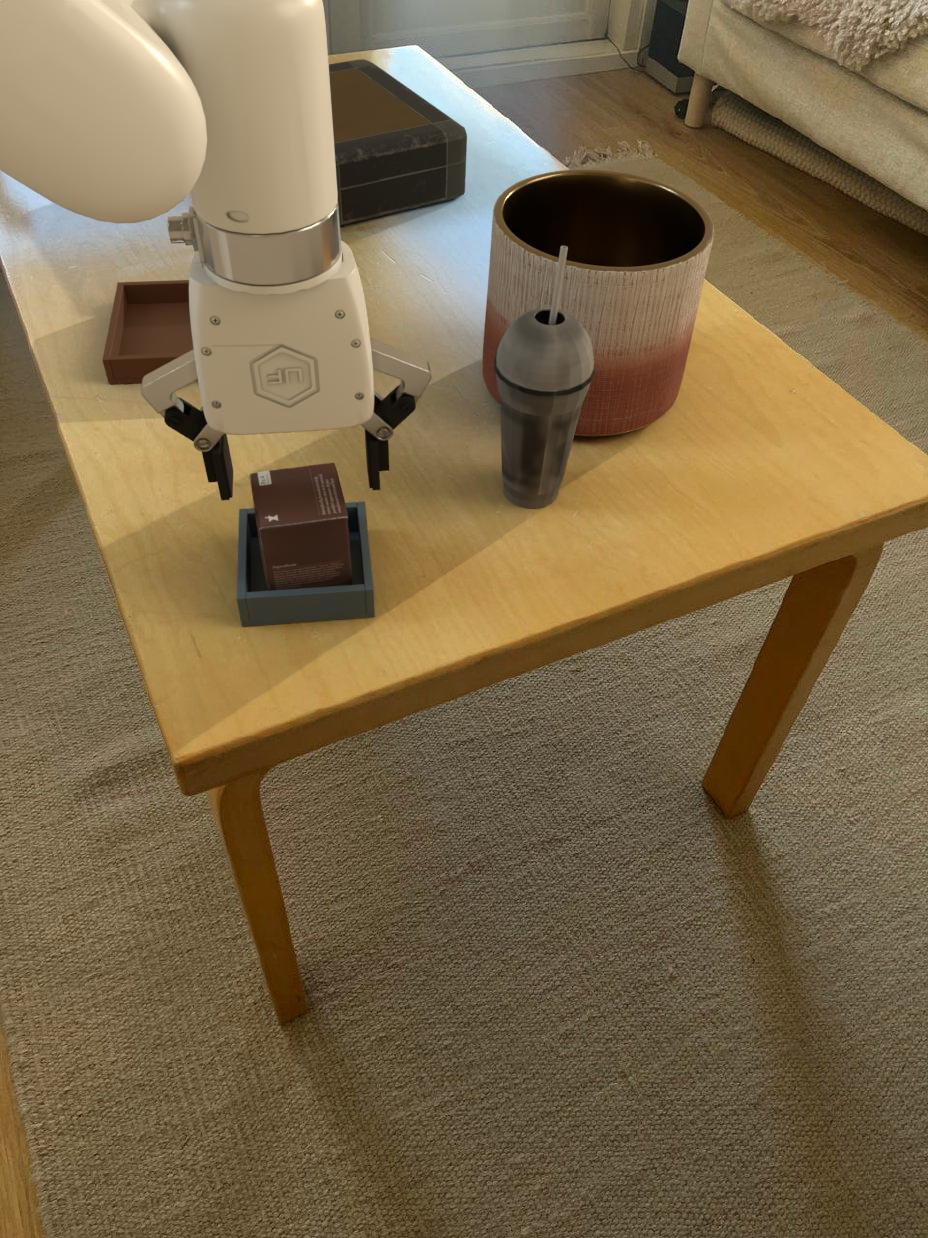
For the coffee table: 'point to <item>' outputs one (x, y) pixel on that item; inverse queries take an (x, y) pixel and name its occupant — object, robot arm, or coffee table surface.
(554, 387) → the beverage cup
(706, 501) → the coffee table surface
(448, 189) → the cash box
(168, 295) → the tray
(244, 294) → the robot arm
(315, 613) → the bin
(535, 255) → the planter
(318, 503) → the box
